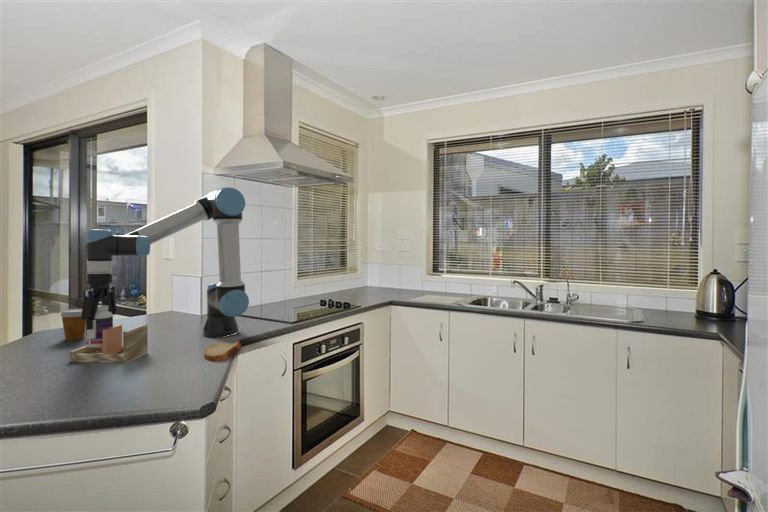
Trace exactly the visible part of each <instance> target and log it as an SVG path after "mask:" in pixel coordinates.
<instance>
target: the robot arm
mask: <svg viewBox="0 0 768 512" xmlns="http://www.w3.org/2000/svg"><path fill="white" fill-rule="evenodd" d="M245 208H246V200H245V197H244V194H243V193H242V192H241V191H240V190H238V189H237V188H234V187H228V186H227V187H226V186H225V187H222V188H219V189H215V190H213V191H210V192H209V193H207V194H206V195H204V196H203V197H201V198H199V199H197V200H195V201H194V203H193V204H191V205H189V206H187V207H184V208H183V209H180V210H178V211H176V212H173V213H171V214H169V215H167V216H166V215H165V216H164V217H162V218H160V219H158V220H155V221H153V222H152V223H149V224H146V225H144V226H143V227H140V228H138V229H136V230H134V231H132V232H131V231H130V232H129V233H127V234H123V235H115V234H113V231H112V230H110V229H93V228H92V229H89V230H88V231H87V232H86V233H87V234H86V261H87V262H86V264H87V265H86V272H88V273H87V274H86V283H87V284H88V285H89V286H90V287H89V289H88V290H83V292H82V293H83V294H82V295H83V298H82V299H83V300H82V308H81V309H82V315H81V319H83V320H86V325H87V326H86V327H85V330H86V329H87V339H95V338H96V320H94V318H95V314H96V311H97V307H98V305H99V303H100V302H101V305H108V306H109V310H108V311H109V312H111V313H112V314H113V316H115V315H116V313H117V301H116V295H115V294H116V293H115V292H116V286H110V284H112V283H113V273H112V272H113V257H117V256H118V257H121V256H122V257H142V256H145V257H147V256H149V255H150V252H151V245H153V244H155V243H157V242H159V241H162V240H163V239H165V238H168V237H170V236H172V235H174V234H176V233H179V232H181V231H183V230H184V229H186V228H189V227H192V226H194V225H196V224H198V223H200V222H202V221H204V222H205V221H207V222H208V221H209V220H211V219H212V221H213V222H214V223H215V224H216V230H217V231H216V232H217V255H218V256H217V257H218V276H219V281H218V282H217V283H210V284H208V285H207V289H206V310H207V311H206V319H205V323H204V326H203V329H202V335H203V337H207V338H224V337H223V336H227V335H231V334H234V333H236V332H238V331H239V326H238V321H237V320H236V317H237V318H238V316H241V315H242V314H244V313H245V312H246V311H247V310H248V308H249V306H250V299H249V295H248V294H247V292H246V288H245V287H246V286H245V285H246V284H245V282H244V281H243V280H242V277H241V270H242V269H241V253H240V252H241V249H240V248H241V247H240V246H241V245H240V226H239V225H240V223H241V222H242V221H243V211H244V210H245ZM85 315H86V316H85ZM227 337H228V336H227Z"/></svg>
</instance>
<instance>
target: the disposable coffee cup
mask: <svg viewBox="0 0 768 512" xmlns="http://www.w3.org/2000/svg"><path fill="white" fill-rule="evenodd" d="M59 314H60V317H61V320H62V321H61V322H62V326H63V333H64V338H65V339H64V340H65V341H79V340H82V339H84V338H85V335H86V320H83V319H81V315H82V308H71V309H64V310H61V312H60V313H59ZM85 316H86V315H85Z"/></svg>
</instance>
